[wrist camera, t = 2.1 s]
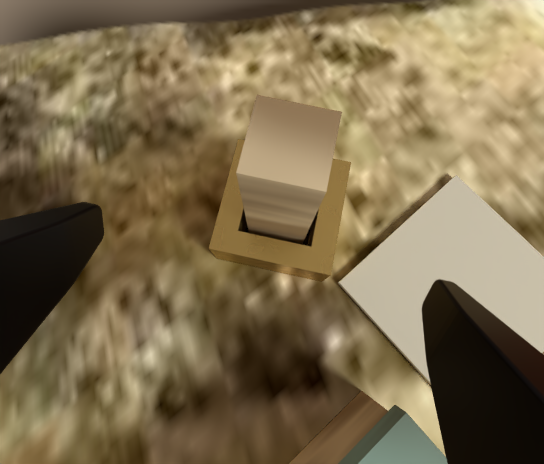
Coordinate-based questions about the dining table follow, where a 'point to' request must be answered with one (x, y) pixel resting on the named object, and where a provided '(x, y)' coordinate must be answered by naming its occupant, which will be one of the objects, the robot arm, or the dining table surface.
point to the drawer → (370, 438)
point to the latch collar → (272, 252)
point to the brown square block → (286, 166)
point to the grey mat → (450, 270)
